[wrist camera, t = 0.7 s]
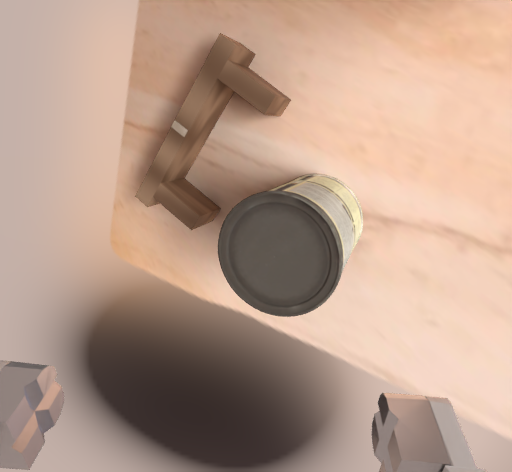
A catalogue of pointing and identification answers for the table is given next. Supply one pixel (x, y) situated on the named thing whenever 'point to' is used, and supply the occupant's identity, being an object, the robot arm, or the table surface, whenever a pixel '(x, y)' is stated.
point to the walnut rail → (204, 129)
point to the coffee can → (290, 244)
